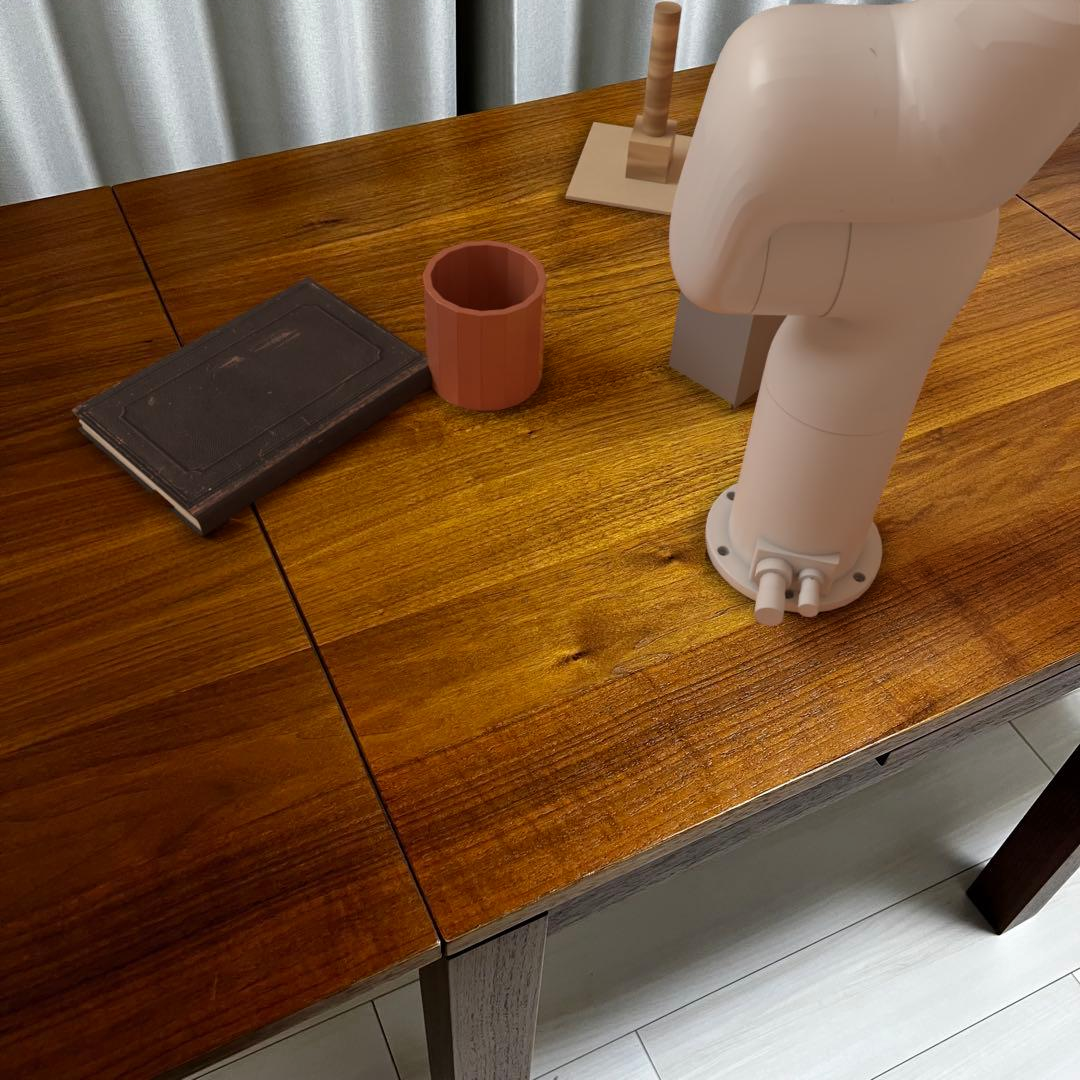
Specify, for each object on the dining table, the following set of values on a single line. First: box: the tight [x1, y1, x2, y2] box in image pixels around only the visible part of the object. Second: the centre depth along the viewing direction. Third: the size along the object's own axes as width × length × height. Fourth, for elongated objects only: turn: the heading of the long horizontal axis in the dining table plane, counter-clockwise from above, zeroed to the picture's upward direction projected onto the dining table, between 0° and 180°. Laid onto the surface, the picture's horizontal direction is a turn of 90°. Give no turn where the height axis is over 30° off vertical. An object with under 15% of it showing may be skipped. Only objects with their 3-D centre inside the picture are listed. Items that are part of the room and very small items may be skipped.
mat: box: [565, 121, 693, 217], centre depth 118 cm, size 14×14×1 cm
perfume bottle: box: [668, 288, 788, 411], centre depth 92 cm, size 7×7×18 cm
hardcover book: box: [70, 276, 432, 537], centre depth 93 cm, size 16×23×2 cm
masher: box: [625, 0, 683, 184], centre depth 112 cm, size 5×4×16 cm
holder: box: [422, 240, 548, 412], centre depth 93 cm, size 9×9×10 cm
